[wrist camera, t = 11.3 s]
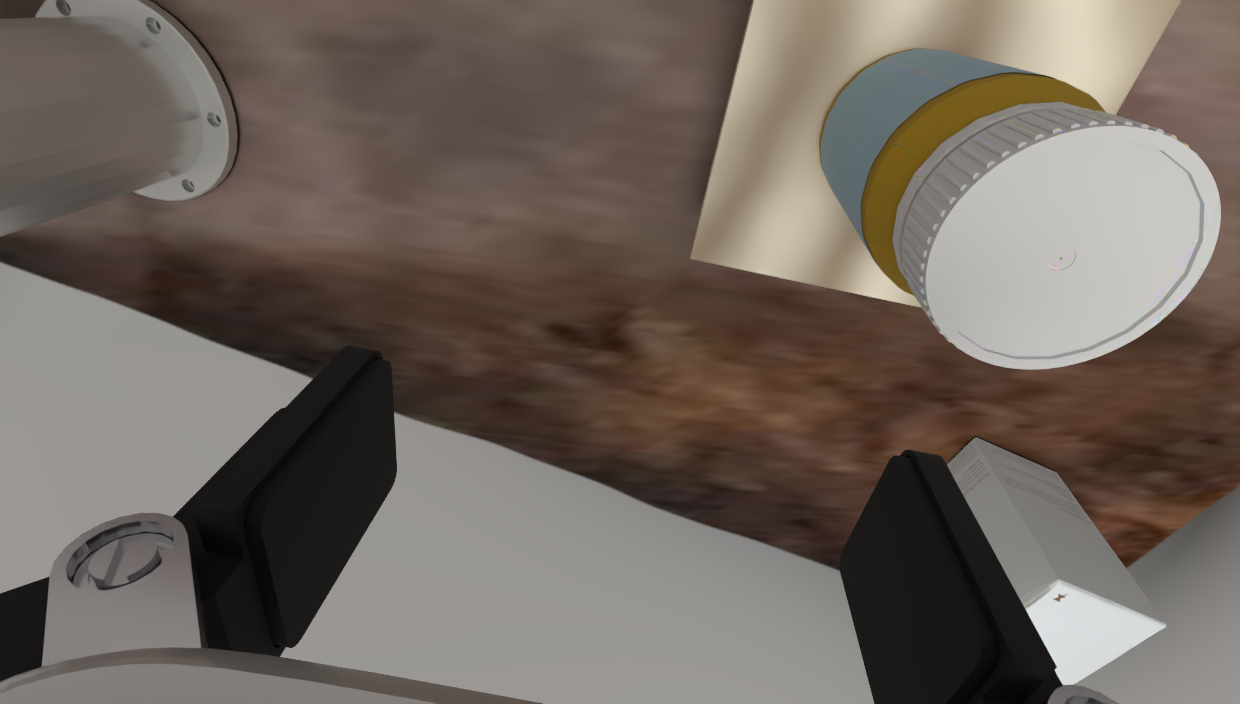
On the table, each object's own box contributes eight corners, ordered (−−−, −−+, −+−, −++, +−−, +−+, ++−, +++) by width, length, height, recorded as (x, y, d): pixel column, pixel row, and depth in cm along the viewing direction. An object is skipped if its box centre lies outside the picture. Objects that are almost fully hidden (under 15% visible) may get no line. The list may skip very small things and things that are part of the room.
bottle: (850, 235, 29) (954, 420, 17) (791, 104, 27) (862, 204, 14) (1003, 163, 27) (1264, 316, 14) (955, 10, 24) (1223, 29, 11)
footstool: (694, 213, 38) (690, 258, 31) (769, -101, 29) (785, -127, 23) (947, 266, 37) (995, 323, 31) (1098, -38, 29) (1208, -46, 22)
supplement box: (908, 498, 47) (967, 648, 36) (975, 433, 43) (1062, 579, 32) (989, 533, 48) (1069, 691, 37) (1061, 472, 44) (1174, 628, 33)
